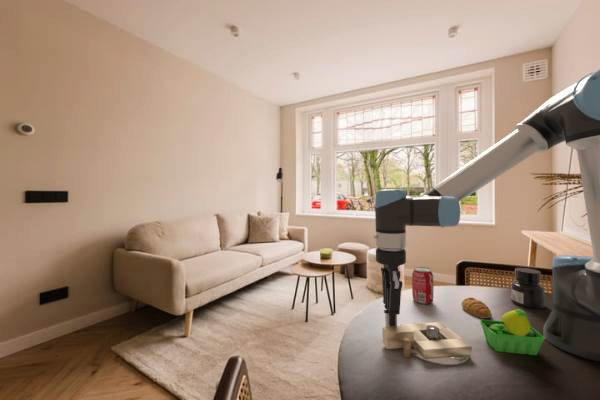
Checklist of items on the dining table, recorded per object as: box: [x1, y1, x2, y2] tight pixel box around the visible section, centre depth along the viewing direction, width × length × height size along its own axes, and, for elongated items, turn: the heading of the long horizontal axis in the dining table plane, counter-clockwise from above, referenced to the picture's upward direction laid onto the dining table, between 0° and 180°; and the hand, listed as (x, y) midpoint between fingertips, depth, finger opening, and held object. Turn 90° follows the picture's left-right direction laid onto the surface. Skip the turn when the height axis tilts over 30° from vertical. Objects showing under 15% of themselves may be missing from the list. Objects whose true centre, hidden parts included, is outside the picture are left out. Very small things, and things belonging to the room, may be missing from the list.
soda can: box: [411, 266, 434, 305], centre depth 96 cm, size 7×7×12 cm
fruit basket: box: [479, 308, 546, 356], centre depth 66 cm, size 11×9×11 cm
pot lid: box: [411, 325, 470, 367], centre depth 68 cm, size 16×16×5 cm
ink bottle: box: [510, 267, 546, 310], centre depth 92 cm, size 10×9×12 cm
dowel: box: [403, 338, 412, 359], centre depth 64 cm, size 2×2×4 cm
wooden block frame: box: [382, 321, 473, 358], centre depth 68 cm, size 19×12×4 cm, turn 95°
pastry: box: [461, 297, 493, 319], centre depth 86 cm, size 9×7×4 cm
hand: (391, 335), depth 70 cm, fingers closed
